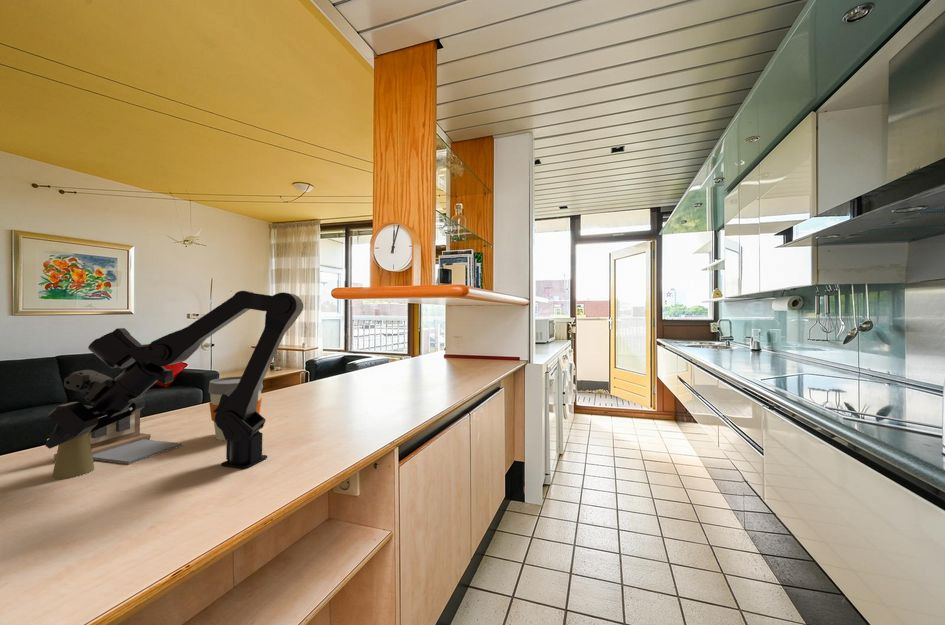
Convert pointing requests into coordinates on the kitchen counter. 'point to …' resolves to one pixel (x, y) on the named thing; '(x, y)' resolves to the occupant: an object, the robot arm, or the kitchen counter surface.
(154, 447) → the mat
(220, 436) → the reusable coffee cup
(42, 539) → the kitchen counter surface
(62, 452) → the cork
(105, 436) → the switch panel
